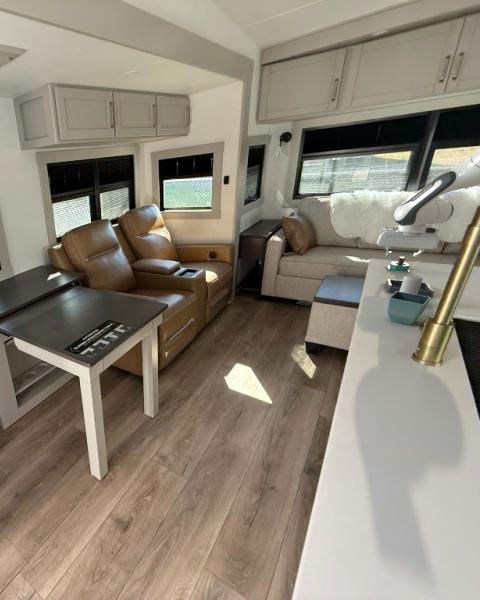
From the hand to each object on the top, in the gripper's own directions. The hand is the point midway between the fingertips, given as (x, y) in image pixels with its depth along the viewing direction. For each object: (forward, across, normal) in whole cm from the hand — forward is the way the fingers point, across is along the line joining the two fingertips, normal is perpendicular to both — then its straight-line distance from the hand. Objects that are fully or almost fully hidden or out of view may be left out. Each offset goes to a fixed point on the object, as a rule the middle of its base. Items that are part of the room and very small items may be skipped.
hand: (401, 256), depth 151 cm
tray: (+7, 0, -30) cm, 31 cm away
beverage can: (+7, -3, -49) cm, 49 cm away
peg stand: (+7, 0, 0) cm, 7 cm away
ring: (+6, 0, 0) cm, 6 cm away
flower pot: (+7, -5, -64) cm, 64 cm away
